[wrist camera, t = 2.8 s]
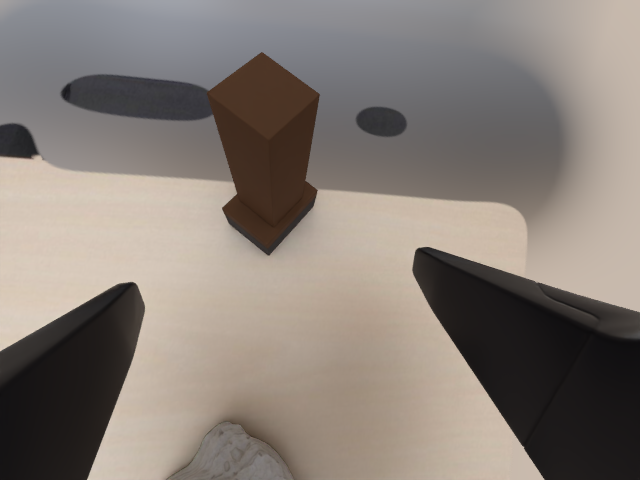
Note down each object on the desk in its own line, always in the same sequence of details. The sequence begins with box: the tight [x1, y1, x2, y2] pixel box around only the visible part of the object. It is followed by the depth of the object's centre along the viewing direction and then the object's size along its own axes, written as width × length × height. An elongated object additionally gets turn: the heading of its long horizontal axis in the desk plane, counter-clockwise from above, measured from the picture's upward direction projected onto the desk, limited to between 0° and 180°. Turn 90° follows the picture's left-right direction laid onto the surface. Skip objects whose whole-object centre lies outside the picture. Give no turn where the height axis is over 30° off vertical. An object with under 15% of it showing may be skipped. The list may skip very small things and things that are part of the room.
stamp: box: [207, 52, 320, 255], centre depth 18 cm, size 6×4×13 cm
